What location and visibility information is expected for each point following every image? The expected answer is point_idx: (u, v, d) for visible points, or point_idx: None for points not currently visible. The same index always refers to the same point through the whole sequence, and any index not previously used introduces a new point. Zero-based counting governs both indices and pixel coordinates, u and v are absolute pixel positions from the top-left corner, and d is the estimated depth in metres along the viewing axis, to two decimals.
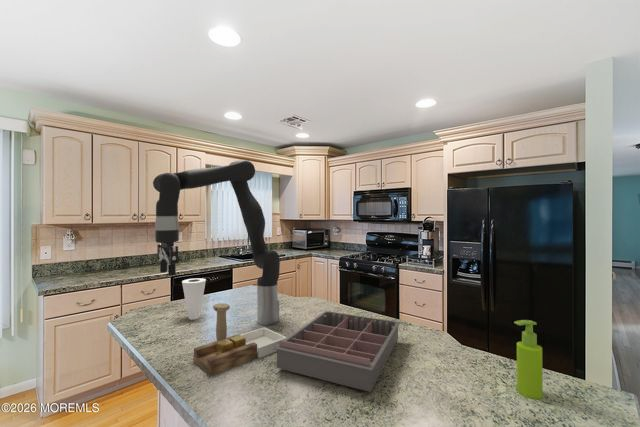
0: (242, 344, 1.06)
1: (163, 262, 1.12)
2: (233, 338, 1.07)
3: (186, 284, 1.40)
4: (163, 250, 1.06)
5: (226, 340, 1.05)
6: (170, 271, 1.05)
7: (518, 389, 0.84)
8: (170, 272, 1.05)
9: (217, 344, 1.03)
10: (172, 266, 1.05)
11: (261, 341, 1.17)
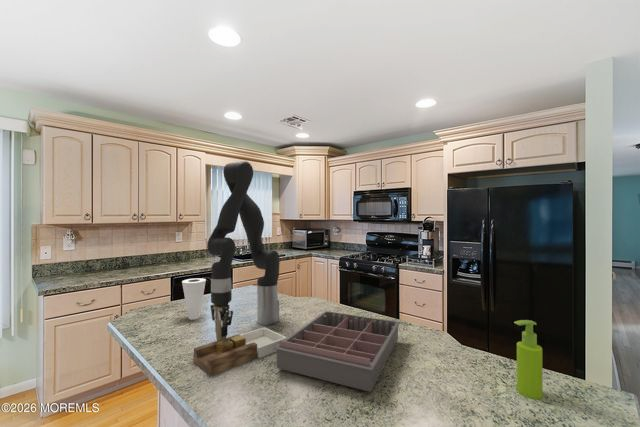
0: (242, 344, 1.06)
1: None
2: (233, 338, 1.07)
3: (186, 284, 1.40)
4: (218, 311, 1.13)
5: (226, 340, 1.05)
6: (223, 332, 1.13)
7: (518, 389, 0.84)
8: (223, 333, 1.13)
9: (217, 344, 1.03)
10: (225, 328, 1.13)
11: (261, 341, 1.17)
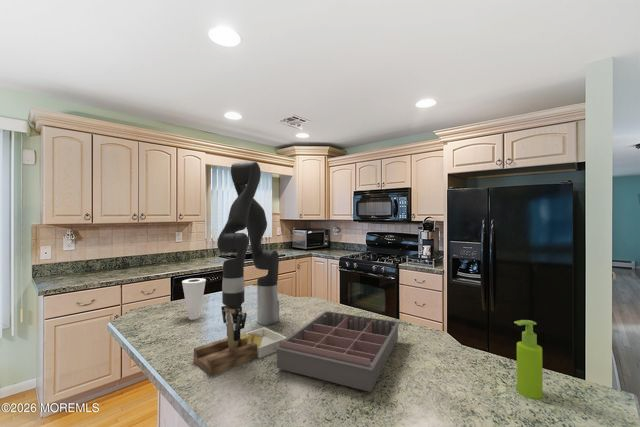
0: (259, 342, 1.11)
1: None
2: (251, 333, 1.12)
3: (186, 284, 1.40)
4: (231, 313, 1.03)
5: (244, 334, 1.10)
6: (236, 336, 1.03)
7: (518, 389, 0.84)
8: (236, 337, 1.03)
9: None
10: (238, 331, 1.04)
11: None
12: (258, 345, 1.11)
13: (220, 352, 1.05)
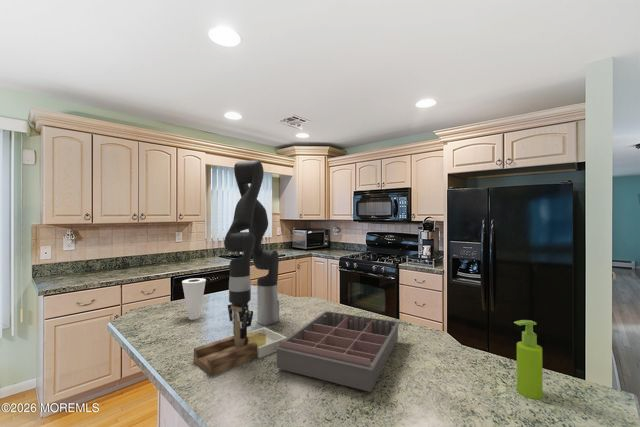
0: (263, 341, 1.12)
1: None
2: None
3: (186, 284, 1.40)
4: (237, 312, 1.05)
5: (250, 333, 1.12)
6: (242, 334, 1.05)
7: (518, 389, 0.84)
8: (242, 335, 1.05)
9: None
10: (244, 329, 1.05)
11: None
12: (263, 344, 1.12)
13: (220, 352, 1.05)
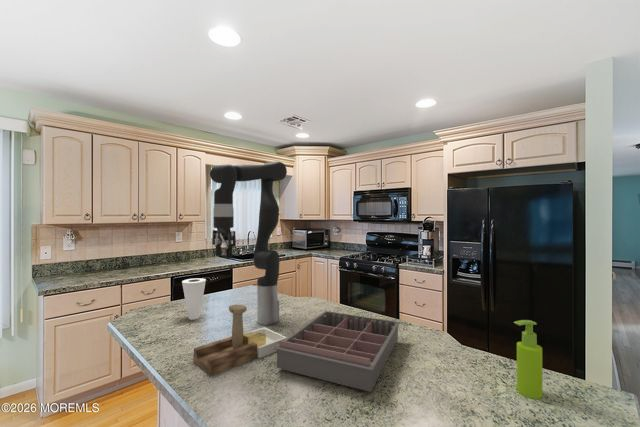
0: (263, 341, 1.12)
1: (218, 247, 1.21)
2: None
3: (186, 284, 1.40)
4: (221, 235, 1.16)
5: (251, 333, 1.12)
6: (228, 254, 1.14)
7: (518, 389, 0.84)
8: (228, 255, 1.14)
9: (243, 336, 1.10)
10: (230, 249, 1.15)
11: None
12: (263, 344, 1.12)
13: (220, 352, 1.05)
